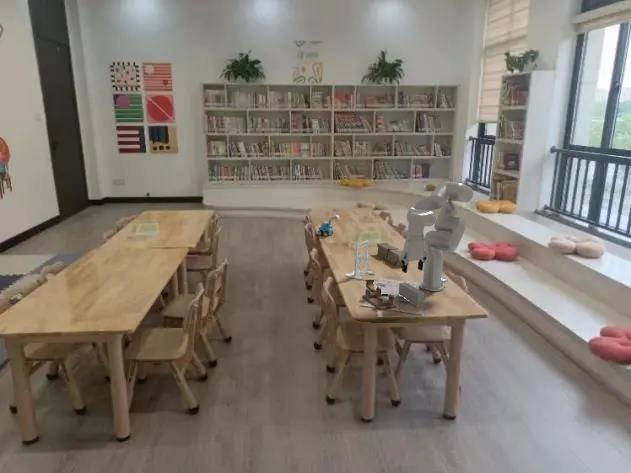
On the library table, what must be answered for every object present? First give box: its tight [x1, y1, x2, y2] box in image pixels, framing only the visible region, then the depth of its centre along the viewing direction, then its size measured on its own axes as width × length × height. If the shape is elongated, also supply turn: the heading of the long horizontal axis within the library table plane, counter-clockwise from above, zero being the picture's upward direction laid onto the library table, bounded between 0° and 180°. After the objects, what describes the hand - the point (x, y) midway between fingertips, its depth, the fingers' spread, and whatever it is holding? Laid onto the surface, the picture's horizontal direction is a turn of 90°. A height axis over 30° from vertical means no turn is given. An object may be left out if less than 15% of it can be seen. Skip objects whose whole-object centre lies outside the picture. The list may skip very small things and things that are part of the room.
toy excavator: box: [317, 214, 340, 238], centre depth 355 cm, size 9×17×17 cm, turn 57°
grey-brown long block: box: [376, 241, 410, 268], centre depth 299 cm, size 8×8×29 cm
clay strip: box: [398, 281, 425, 308], centre depth 233 cm, size 4×16×7 cm, turn 25°
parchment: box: [364, 279, 376, 292], centre depth 250 cm, size 25×10×1 cm, turn 14°
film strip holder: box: [344, 239, 376, 281], centre depth 267 cm, size 14×14×20 cm
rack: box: [361, 287, 397, 311], centre depth 230 cm, size 8×18×5 cm, turn 26°
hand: (412, 271), depth 229 cm, fingers open, 9 cm apart
